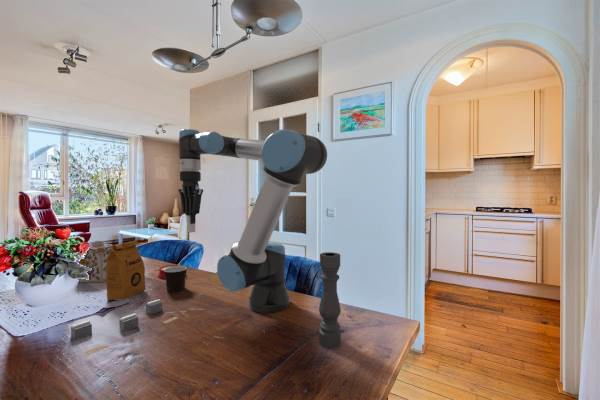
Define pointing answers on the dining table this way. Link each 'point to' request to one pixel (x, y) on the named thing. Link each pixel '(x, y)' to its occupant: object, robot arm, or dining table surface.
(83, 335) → the switch
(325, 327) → the candle holder
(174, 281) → the coffee mug
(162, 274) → the alarm clock
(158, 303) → the switch
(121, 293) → the coffee package
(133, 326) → the switch
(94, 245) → the decorative jar
